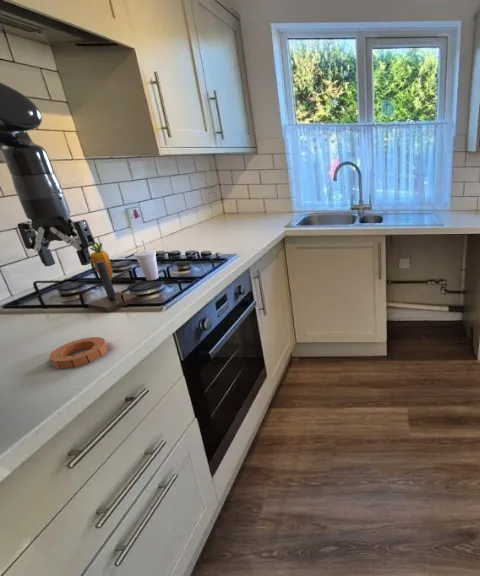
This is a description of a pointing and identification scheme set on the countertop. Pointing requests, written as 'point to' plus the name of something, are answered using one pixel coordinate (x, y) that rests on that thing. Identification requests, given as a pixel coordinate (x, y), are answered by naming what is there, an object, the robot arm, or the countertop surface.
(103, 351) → the hang ring
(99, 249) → the carrot
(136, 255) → the smoothie
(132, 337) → the countertop surface
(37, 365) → the countertop surface
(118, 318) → the countertop surface
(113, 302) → the peg stand
